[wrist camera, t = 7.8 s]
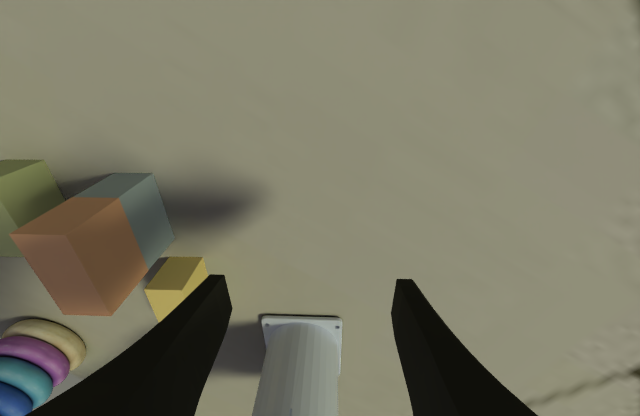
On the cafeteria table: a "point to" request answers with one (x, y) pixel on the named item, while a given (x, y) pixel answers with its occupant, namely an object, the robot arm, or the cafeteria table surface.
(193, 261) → the mustard brick
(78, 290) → the terracotta brick
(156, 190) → the slate brick
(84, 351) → the stacking toy
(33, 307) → the cafeteria table surface
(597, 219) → the cafeteria table surface
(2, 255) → the olive brick
